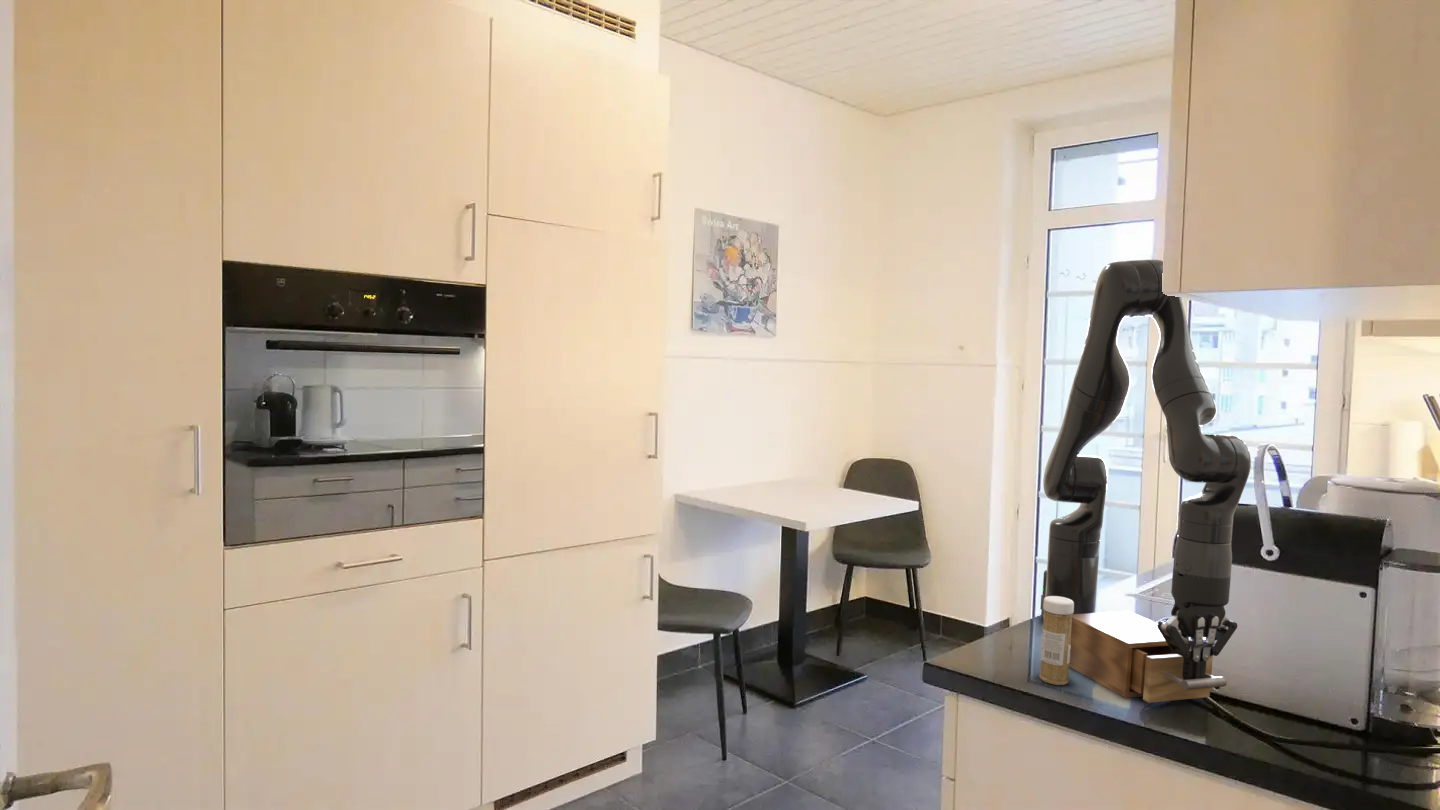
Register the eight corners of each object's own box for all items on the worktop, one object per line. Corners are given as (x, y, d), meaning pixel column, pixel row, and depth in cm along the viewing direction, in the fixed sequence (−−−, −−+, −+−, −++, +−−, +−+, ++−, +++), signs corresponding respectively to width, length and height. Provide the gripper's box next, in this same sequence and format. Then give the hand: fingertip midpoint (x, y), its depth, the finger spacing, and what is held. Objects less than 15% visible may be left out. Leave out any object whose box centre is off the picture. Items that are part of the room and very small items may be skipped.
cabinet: (1191, 691, 140) (1195, 638, 139) (1124, 697, 137) (1128, 643, 136) (1125, 659, 154) (1128, 610, 153) (1063, 663, 151) (1067, 614, 150)
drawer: (1236, 710, 131) (1240, 665, 131) (1173, 716, 128) (1177, 670, 127) (1145, 665, 149) (1148, 625, 148) (1088, 669, 146) (1090, 629, 145)
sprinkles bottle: (1074, 682, 142) (1080, 600, 141) (1057, 688, 139) (1062, 604, 139) (1050, 673, 146) (1055, 593, 145) (1032, 678, 143) (1037, 597, 142)
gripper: (1217, 561, 136) (1208, 671, 137) (1146, 564, 132) (1137, 677, 133) (1259, 574, 129) (1249, 690, 130) (1184, 577, 125) (1176, 696, 126)
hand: (1193, 683), depth 132 cm, fingers closed
